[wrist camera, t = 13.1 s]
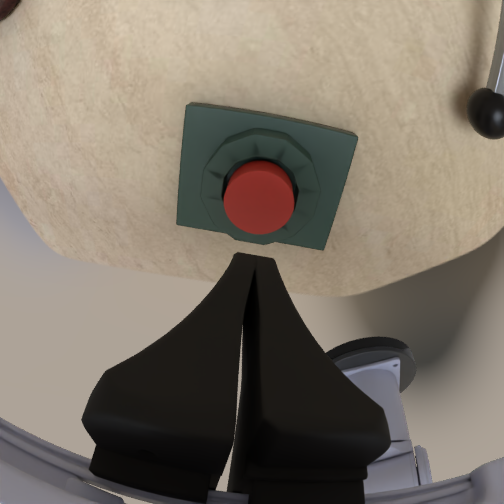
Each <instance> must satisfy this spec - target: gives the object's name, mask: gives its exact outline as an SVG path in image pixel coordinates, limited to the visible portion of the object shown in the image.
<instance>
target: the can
mask: <svg viewBox="0 0 504 504" xmlns="http://www.w3.org/2000/svg"><path fill="white" fill-rule="evenodd" d="M18 2H19V0H0V20H1V19H2V18H4V17H5V16H6V15H7V14H9V13H10V12H11V11H12V10H13V8H14V7H15V6H16V5H17V3H18Z"/></svg>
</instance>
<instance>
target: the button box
mask: <svg viewBox="0 0 504 504" xmlns="http://www.w3.org/2000/svg"><path fill="white" fill-rule="evenodd" d="M357 141H358V136H357V135H355V134H354V133H353V132H349V131H346V130H342V129H338V128H334V127H330V126H326V125H322V124H317V123H313V122H309V121H304V120H299V119H295V118H290V117H285V116H280V115H275V114H269V113H264V112H258V111H252V110H246V109H239V108H233V107H225V106H218V105H210V104H202V103H189V104H187V105H186V110H185V120H184V129H183V139H182V150H181V161H180V174H179V188H178V204H177V222H176V224H177V225H180V226H186V227H192V228H198V229H204V230H210V231H216V232H222V233H227V234H228V235H229V236H231V237H232V238H234V239H235V240H239V241H244V242H250V243H256V244H262V245H265V244H270V243H273V242H279V243H284V244H290V245H295V246H301V247H307V248H312V249H318V250H324V248H325V245H326V242H327V239H328V236H329V233H330V230H331V227H332V224H333V221H334V218H335V214H336V211H337V208H338V205H339V202H340V199H341V195H342V192H343V189H344V186H345V182H346V179H347V175H348V172H349V169H350V165H351V162H352V158H353V155H354V151H355V148H356V144H357ZM251 161H268V162H271V163H274V164H276V165H278V166H279V167H281V168H282V169H283V170H284V171H285V172H286V173H287V175H288V176H289V178H290V180H291V183H292V188H293V196H294V209H293V213H292V215H291V217H290V219H289V220H288V222H287V223H286V224H285V225H284V226H283V227H281V228H280V229H278V230H276V231H274V232H271V233H267V234H252V233H248V232H245V231H243V230H241V229H239V228H238V227H237V226H235V225H234V224H233V223H232V222H231V221H230V219H229V218H228V216H227V214H226V212H225V208H224V195H225V191H226V189H227V186H228V183H229V180H230V178H231V176H232V174H233V173H234V172H235V171H236V170H237V169H238V168H239V167H240V166H242V165H244V164H246V163H248V162H251Z"/></svg>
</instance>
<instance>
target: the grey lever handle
mask: <svg viewBox="0 0 504 504" xmlns="http://www.w3.org/2000/svg"><path fill="white" fill-rule="evenodd" d="M467 116H468V119H469V122H470V124H471V125H472V127H473V128H474V130H475V131H476V132H477V133H479V134H480V135H481V136H483V137H485V138H488V139H500V138H503V137H504V0H502V6H501V14H500V21H499V28H498V34H497V40H496V45H495V51H494V56H493V60H492V65H491V69H490V74H489V78H488V82H487V86H486V88H480V89H478V90H476V91H474V92H473V93H472V94H471V96H470V97H469V99H468V102H467Z"/></svg>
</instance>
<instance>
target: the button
mask: <svg viewBox="0 0 504 504" xmlns="http://www.w3.org/2000/svg"><path fill="white" fill-rule="evenodd" d="M224 208H225V212H226V214H227V216H228V218H229V219H230V221H231V222H232V223H233V224H234V225H235V226H237V227H238V228H239V229H241V230H243V231H245V232H248V233H252V234H267V233H271V232H274V231H276V230H278V229H280V228H281V227H283V226H284V225H285V224H286V223H287V222H288V220H289V219H290V217H291V215H292V213H293V209H294V196H293V188H292V183H291V180H290V178H289V176H288V175H287V173H286V172H285V171H284V170H283V169H282V168H281V167H279V166H278V165H276V164H274V163H271V162H268V161H251V162H248V163H246V164H244V165H242V166H240V167H239V168H238V169H237V170H236V171H235V172H234V173H233V174H232V176H231V178H230V180H229V183H228V186H227V189H226V191H225V195H224Z"/></svg>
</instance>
